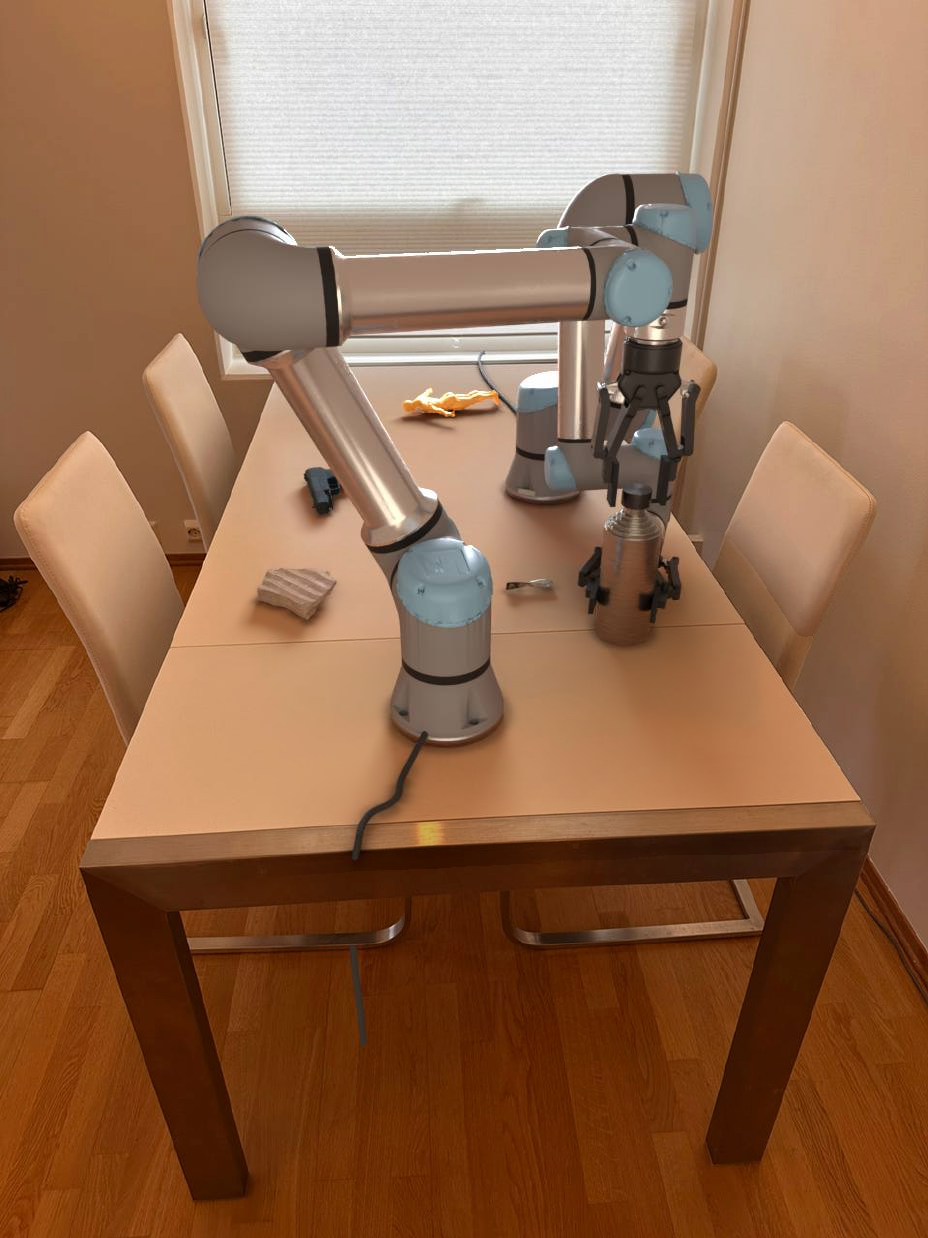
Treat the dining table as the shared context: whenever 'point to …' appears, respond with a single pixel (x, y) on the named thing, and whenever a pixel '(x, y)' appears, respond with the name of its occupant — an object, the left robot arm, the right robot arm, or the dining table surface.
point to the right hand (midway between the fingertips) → (621, 610)
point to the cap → (636, 496)
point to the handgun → (322, 488)
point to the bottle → (628, 577)
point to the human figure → (448, 402)
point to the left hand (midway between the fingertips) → (635, 502)
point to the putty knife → (529, 584)
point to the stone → (296, 589)
